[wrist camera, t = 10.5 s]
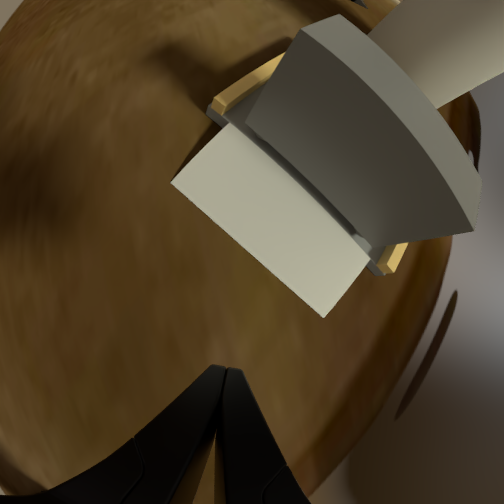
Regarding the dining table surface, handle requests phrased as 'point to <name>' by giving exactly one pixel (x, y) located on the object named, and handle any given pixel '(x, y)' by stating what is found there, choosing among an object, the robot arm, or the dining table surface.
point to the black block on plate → (360, 3)
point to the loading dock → (276, 205)
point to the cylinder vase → (444, 44)
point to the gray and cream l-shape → (367, 137)
